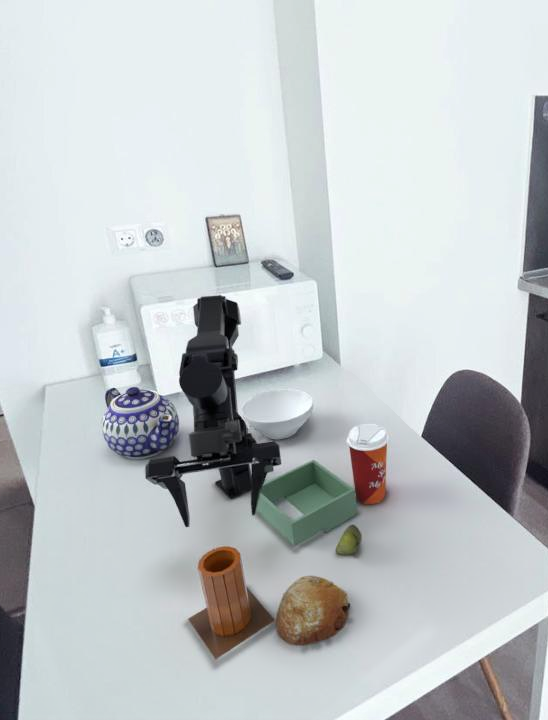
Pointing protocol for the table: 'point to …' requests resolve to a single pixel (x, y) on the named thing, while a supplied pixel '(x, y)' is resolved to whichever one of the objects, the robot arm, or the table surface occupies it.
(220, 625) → the slatted orange pencil cup
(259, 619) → the stand
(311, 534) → the bin
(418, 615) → the table surface
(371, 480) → the paper cup
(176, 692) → the table surface
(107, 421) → the teapot
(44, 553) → the table surface
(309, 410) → the bowl
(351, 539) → the lime
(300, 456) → the table surface
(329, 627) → the bread roll
